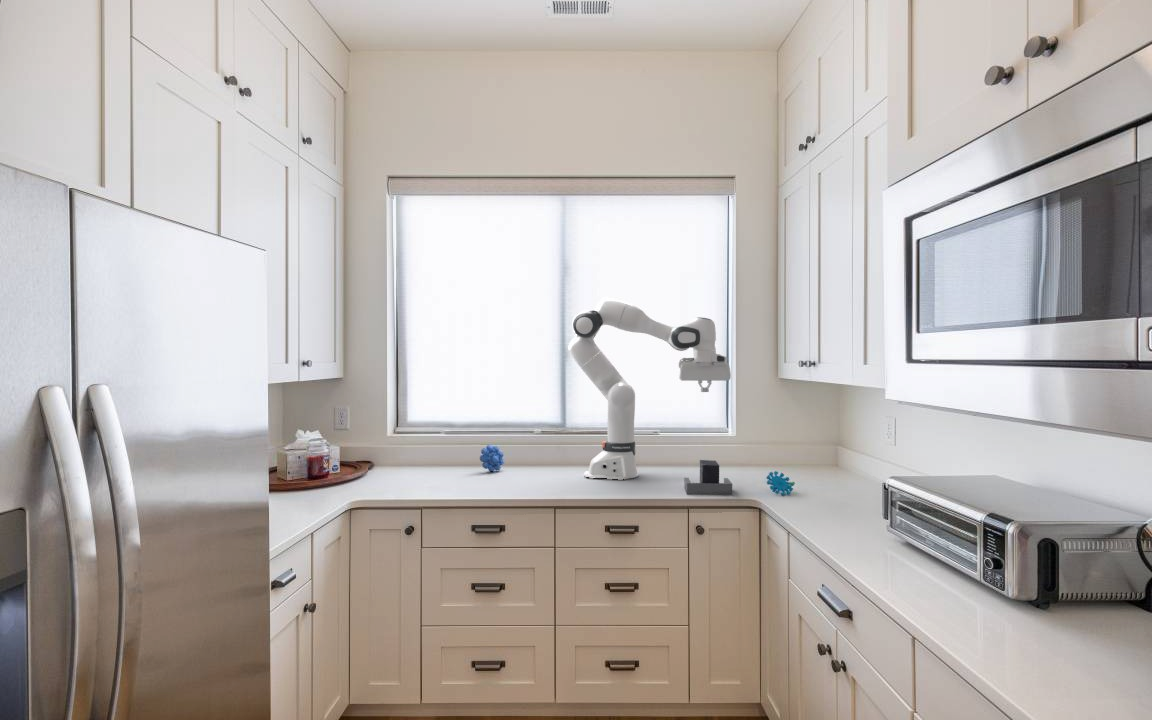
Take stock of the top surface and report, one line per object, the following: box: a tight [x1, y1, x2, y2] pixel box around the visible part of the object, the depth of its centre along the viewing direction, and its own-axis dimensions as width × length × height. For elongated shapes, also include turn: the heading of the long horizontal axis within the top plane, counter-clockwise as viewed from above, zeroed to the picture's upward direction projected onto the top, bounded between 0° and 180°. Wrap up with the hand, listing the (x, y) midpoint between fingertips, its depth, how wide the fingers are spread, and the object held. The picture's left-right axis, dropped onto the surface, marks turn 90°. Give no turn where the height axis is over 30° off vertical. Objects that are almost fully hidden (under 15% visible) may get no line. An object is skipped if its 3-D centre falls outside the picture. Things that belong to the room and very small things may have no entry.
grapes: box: [479, 444, 505, 472], centre depth 256 cm, size 12×7×12 cm, turn 126°
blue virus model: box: [765, 470, 796, 497], centre depth 215 cm, size 11×6×10 cm
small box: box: [699, 459, 720, 483], centre depth 219 cm, size 11×6×10 cm, turn 174°
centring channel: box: [683, 477, 733, 496], centre depth 217 cm, size 16×10×4 cm, turn 85°
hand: (704, 392), depth 240 cm, fingers closed
